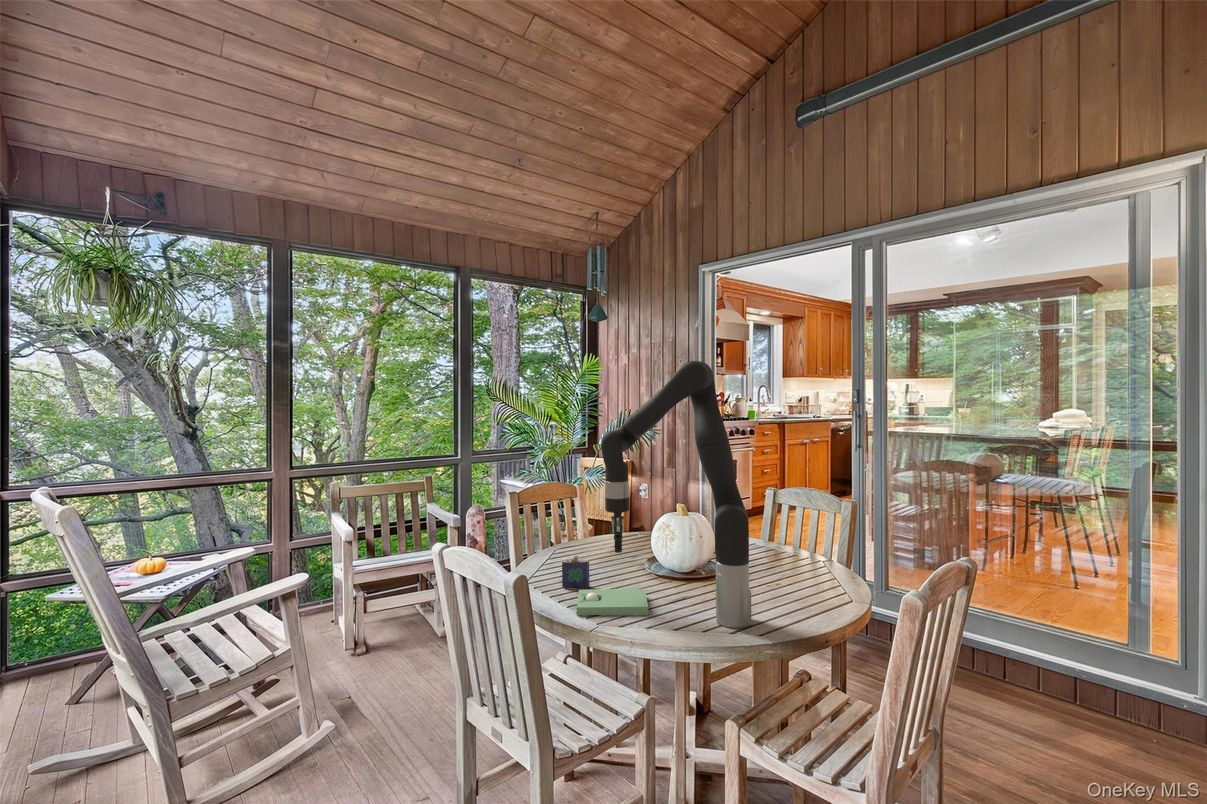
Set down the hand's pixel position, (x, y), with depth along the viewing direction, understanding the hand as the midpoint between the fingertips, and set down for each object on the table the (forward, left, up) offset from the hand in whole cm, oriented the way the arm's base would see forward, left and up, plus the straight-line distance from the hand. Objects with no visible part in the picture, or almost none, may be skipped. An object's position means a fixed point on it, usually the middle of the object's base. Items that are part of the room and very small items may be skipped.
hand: (618, 551), depth 172 cm
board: (+2, 0, -17) cm, 17 cm away
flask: (+14, -17, -17) cm, 28 cm away
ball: (+8, 0, -15) cm, 17 cm away
